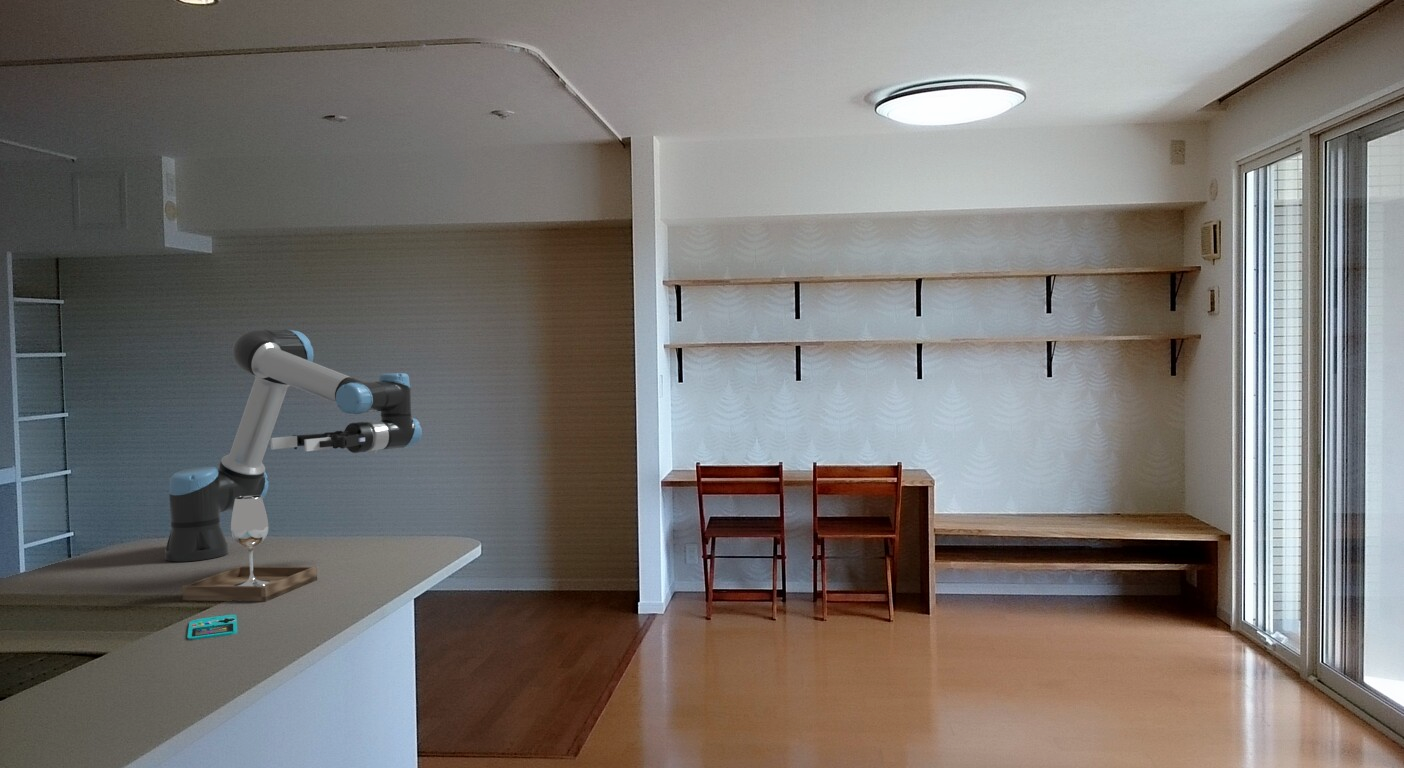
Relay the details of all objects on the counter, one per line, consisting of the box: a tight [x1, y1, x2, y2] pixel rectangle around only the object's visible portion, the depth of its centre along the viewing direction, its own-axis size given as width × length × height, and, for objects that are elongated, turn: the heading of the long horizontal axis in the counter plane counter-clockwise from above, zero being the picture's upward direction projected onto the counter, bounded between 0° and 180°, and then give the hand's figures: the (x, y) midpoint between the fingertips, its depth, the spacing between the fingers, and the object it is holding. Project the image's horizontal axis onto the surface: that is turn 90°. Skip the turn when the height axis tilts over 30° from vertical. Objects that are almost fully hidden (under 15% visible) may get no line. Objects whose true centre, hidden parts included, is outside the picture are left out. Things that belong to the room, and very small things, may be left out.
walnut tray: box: [181, 565, 318, 602], centre depth 222 cm, size 20×20×3 cm
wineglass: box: [230, 495, 270, 586], centre depth 222 cm, size 8×8×20 cm
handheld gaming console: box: [187, 614, 238, 640], centre depth 190 cm, size 8×1×15 cm
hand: (288, 444), depth 229 cm, fingers open, 13 cm apart
